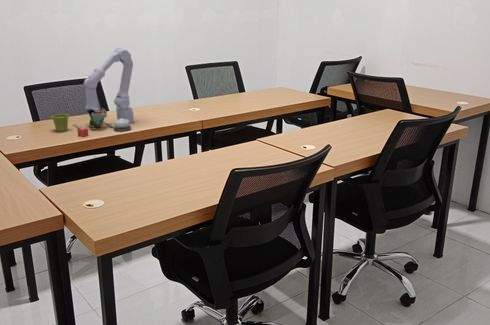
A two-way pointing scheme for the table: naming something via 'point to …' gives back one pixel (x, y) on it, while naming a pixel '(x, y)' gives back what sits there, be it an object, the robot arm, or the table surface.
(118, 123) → the dome
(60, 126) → the plant pot
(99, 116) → the food container
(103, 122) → the game lane
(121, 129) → the dark grey disc
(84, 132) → the red die
